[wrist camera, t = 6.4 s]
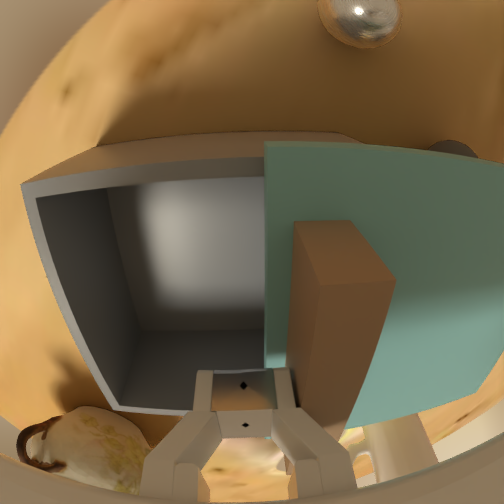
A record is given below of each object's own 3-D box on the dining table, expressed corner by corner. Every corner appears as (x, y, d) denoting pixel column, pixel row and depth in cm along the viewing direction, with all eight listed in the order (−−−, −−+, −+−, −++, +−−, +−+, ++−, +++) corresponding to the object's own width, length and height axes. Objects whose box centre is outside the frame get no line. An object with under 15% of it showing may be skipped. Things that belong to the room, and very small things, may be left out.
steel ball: (378, -5, 11) (413, -24, 7) (381, 57, 13) (420, 51, 9) (307, -17, 11) (327, -46, 7) (309, 48, 13) (333, 34, 9)
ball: (459, 139, 15) (501, 154, 11) (451, 198, 17) (488, 223, 13) (410, 130, 15) (451, 143, 11) (403, 195, 17) (438, 222, 13)
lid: (553, 176, 8) (611, 210, 5) (469, 381, 15) (493, 425, 12) (264, 141, 8) (285, 178, 5) (263, 423, 15) (268, 488, 11)
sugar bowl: (13, 377, 24) (-31, 481, 11) (96, 360, 22) (47, 520, 9) (115, 459, 33) (101, 545, 20) (204, 455, 31) (201, 562, 18)
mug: (418, 388, 27) (457, 479, 16) (407, 417, 30) (436, 496, 20) (330, 414, 27) (353, 518, 17) (330, 439, 31) (348, 526, 20)
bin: (337, 132, 15) (402, 161, 9) (319, 324, 21) (343, 405, 15) (95, 146, 14) (20, 184, 8) (137, 330, 21) (113, 410, 15)
